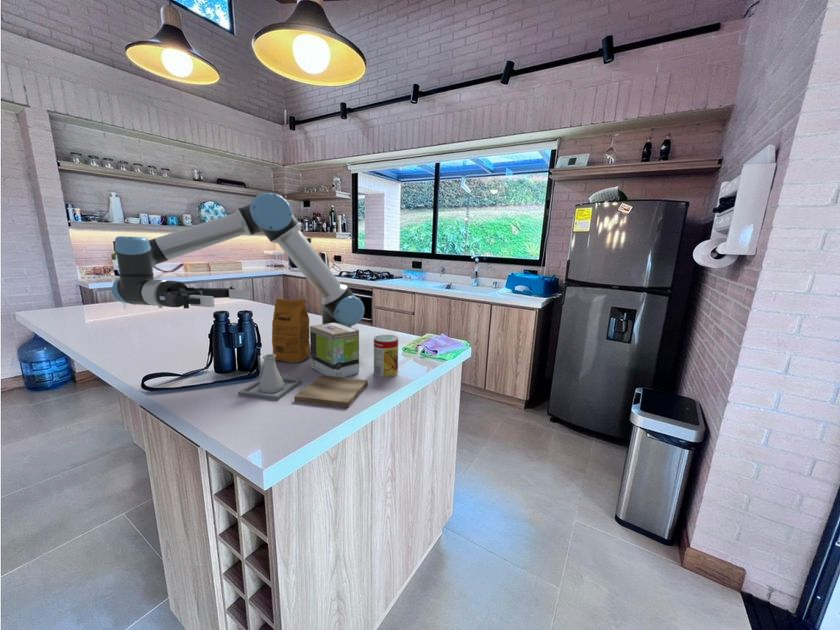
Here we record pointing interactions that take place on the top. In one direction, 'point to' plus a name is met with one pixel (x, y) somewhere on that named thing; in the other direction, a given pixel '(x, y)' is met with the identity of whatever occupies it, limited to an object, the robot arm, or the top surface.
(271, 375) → the flask
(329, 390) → the walnut board
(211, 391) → the top surface
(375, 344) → the canned food
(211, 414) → the top surface
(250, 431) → the top surface
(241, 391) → the grey square frame
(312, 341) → the tea box
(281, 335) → the coffee package
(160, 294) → the robot arm
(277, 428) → the top surface
